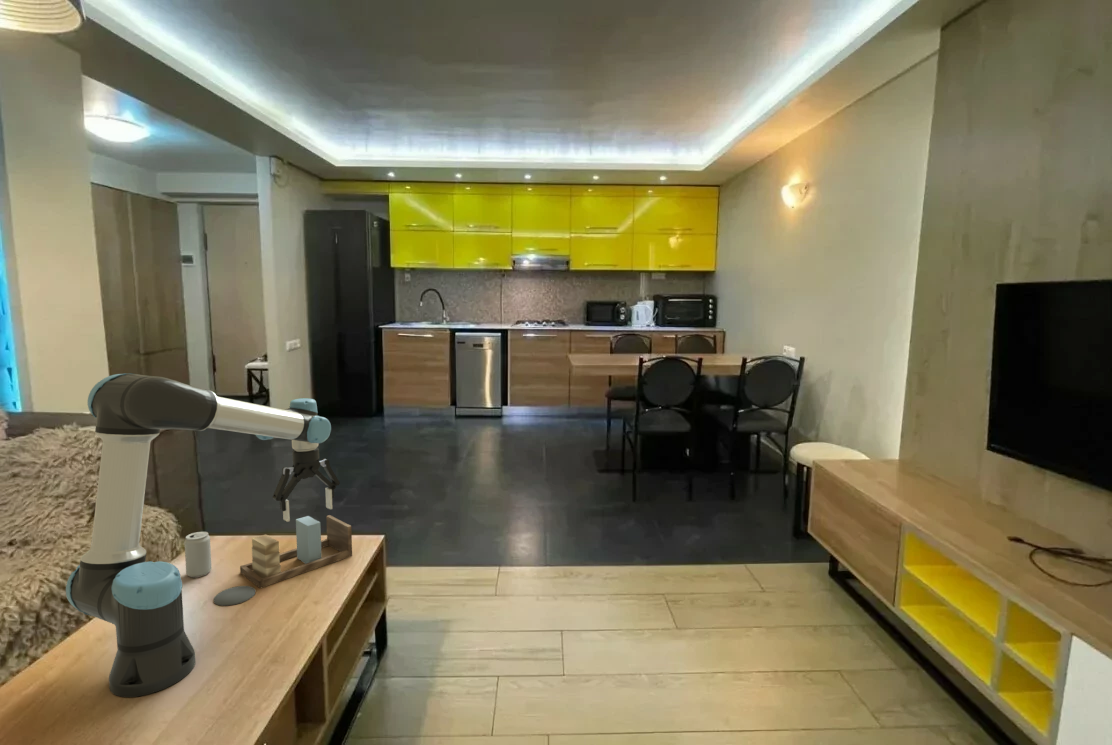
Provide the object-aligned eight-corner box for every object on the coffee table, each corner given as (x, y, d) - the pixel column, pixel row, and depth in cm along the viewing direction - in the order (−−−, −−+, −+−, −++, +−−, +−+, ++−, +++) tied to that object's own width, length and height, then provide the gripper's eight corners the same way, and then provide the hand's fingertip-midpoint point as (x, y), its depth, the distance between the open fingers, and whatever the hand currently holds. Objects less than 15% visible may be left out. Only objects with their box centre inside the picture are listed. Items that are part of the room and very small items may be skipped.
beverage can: (188, 570, 166) (186, 532, 165) (213, 566, 169) (211, 529, 167) (184, 580, 160) (182, 540, 159) (210, 576, 163) (208, 537, 161)
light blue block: (309, 566, 170) (307, 526, 169) (297, 558, 175) (295, 519, 174) (321, 561, 173) (320, 522, 172) (309, 554, 178) (308, 515, 177)
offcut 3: (267, 582, 160) (266, 569, 159) (252, 572, 166) (252, 559, 166) (281, 577, 163) (280, 565, 162) (266, 567, 169) (265, 555, 169)
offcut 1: (265, 555, 159) (264, 545, 159) (252, 548, 164) (252, 538, 164) (279, 551, 163) (278, 541, 162) (266, 543, 167) (265, 534, 167)
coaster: (221, 610, 145) (221, 608, 145) (208, 596, 151) (208, 595, 151) (261, 595, 152) (261, 594, 152) (247, 583, 159) (247, 582, 159)
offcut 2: (265, 569, 160) (265, 556, 159) (252, 560, 165) (251, 547, 165) (279, 564, 163) (279, 551, 162) (266, 555, 168) (265, 543, 168)
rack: (259, 588, 156) (258, 554, 155) (240, 572, 165) (238, 540, 164) (352, 555, 178) (351, 525, 177) (330, 543, 187) (329, 515, 186)
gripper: (268, 459, 158) (272, 529, 161) (349, 443, 177) (351, 506, 180) (258, 454, 163) (261, 522, 166) (337, 439, 182) (339, 500, 185)
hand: (308, 514), depth 173 cm, fingers open, 13 cm apart
